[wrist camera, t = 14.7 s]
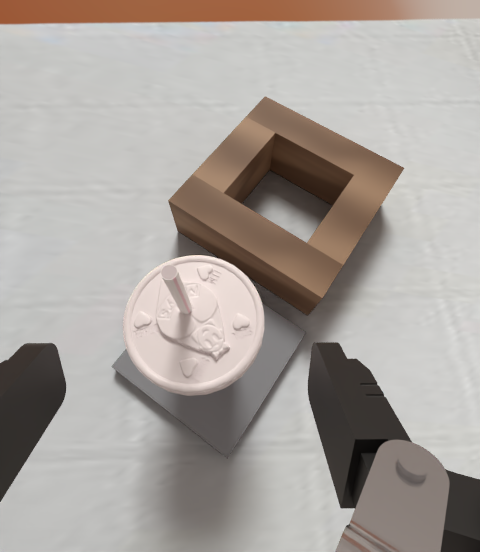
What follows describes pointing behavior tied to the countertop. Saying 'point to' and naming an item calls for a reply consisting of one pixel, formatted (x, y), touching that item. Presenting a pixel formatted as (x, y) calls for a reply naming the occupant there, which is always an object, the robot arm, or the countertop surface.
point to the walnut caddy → (299, 170)
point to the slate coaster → (231, 400)
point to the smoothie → (194, 325)
